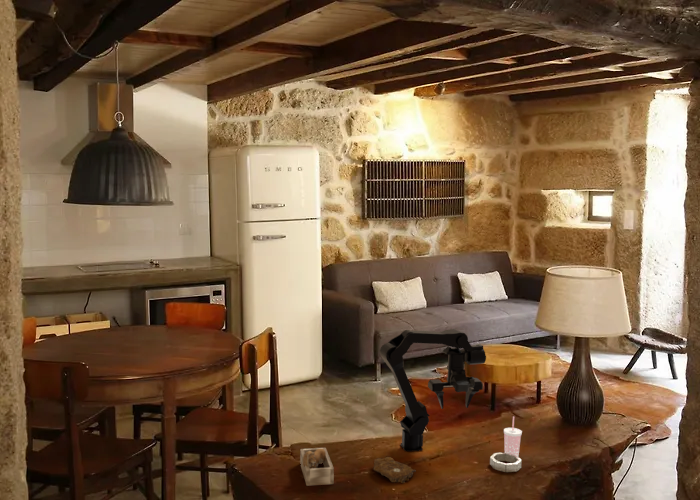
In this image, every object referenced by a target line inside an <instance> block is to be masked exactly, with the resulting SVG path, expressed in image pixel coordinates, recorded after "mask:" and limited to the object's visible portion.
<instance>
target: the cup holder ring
mask: <svg viewBox="0 0 700 500" xmlns="http://www.w3.org/2000/svg"><path fill="white" fill-rule="evenodd" d="M489 457H490V458H489V465H490V466H491V467H492V469H494V470H497V471H500V472H504V473H512V472H513V473H514V472H516V473H517V472H518V471H519V470H520V469H522V461H523V460H522V459H521V458H520V457H519V456H516V455H514V454H510V453H505V452H493V454H492V455H491V456H489ZM505 462H507V463H505Z"/></svg>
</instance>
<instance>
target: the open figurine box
mask: <svg viewBox="0 0 700 500" xmlns="http://www.w3.org/2000/svg"><path fill="white" fill-rule="evenodd" d="M317 449H324V450H325V452H326V455H325V462H324V463H323V460H322V459H320V460H319V464H320V465H321V464H322V463H323V464H322V465H323V467H317V468H311V469H310V468H309V466H306V465H305V467H304V465H303V455H304V453H305V452H307V451H311V452H315V451H316V450H317ZM299 451H300V453H299V454H300V457H299V461H300V462H299V463H300V464H301V465H300V468H301V471H302V475H303V478H304V482H305V485H306V486H307V487H308V486H309V487H310V486H321V485H322V486H323V485H334V482H335V481H334V478H335V475H334V474H335V471H334V470H335V468H334V466H333V463H332V460H331V458H330V455H329V453H328V450H327V448H326V447H315V448H314V447H313V448H311V447H310V448H300V450H299ZM319 464H318V465H319Z"/></svg>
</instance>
